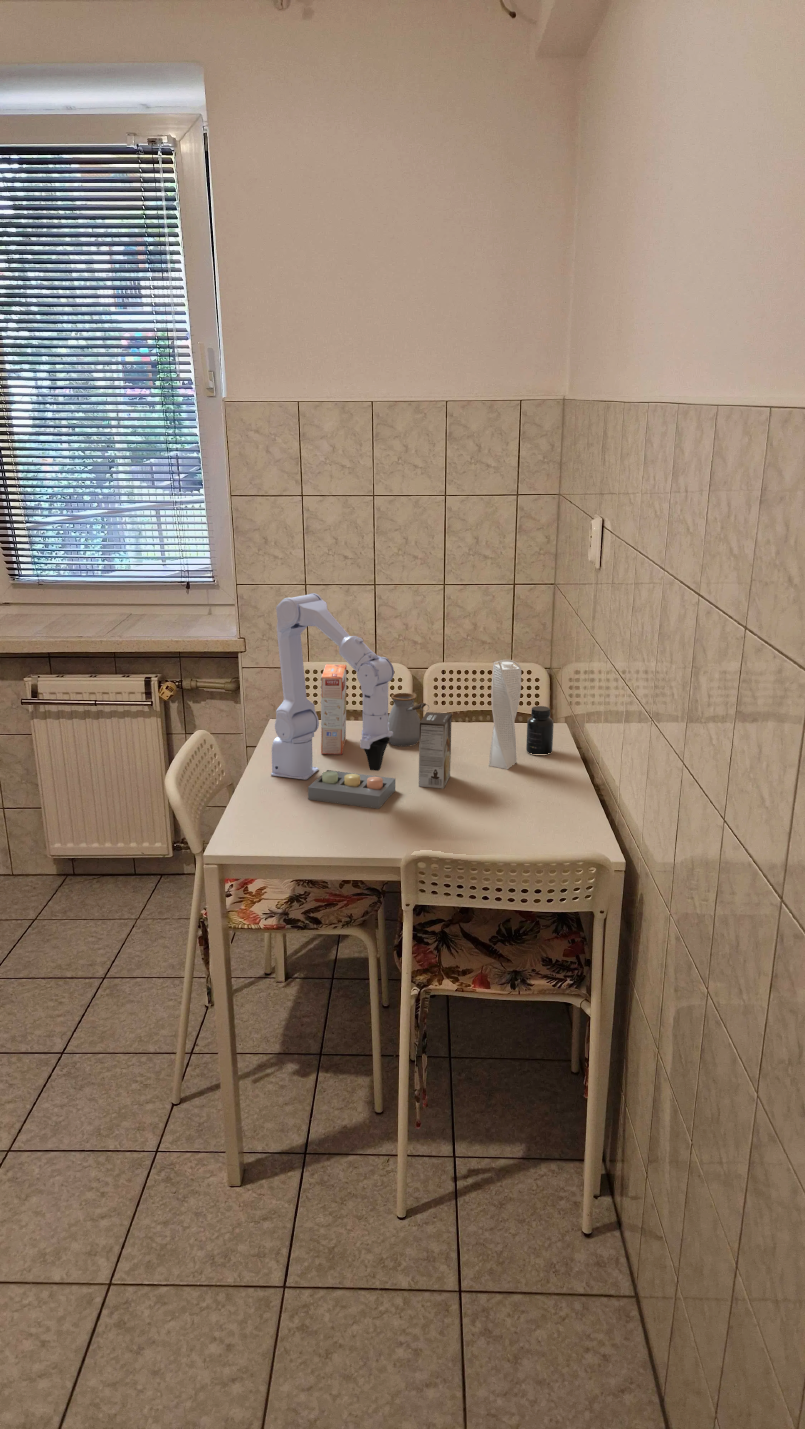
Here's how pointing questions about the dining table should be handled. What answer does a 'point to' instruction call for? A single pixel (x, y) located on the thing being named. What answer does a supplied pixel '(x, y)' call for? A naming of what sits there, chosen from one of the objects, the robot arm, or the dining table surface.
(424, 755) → the coffee box
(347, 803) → the button panel
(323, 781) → the button sage
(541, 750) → the supplement bottle
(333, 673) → the cracker box
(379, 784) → the button terracotta
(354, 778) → the button ochre
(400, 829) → the dining table surface
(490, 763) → the skyscraper
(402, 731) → the coffee pot
